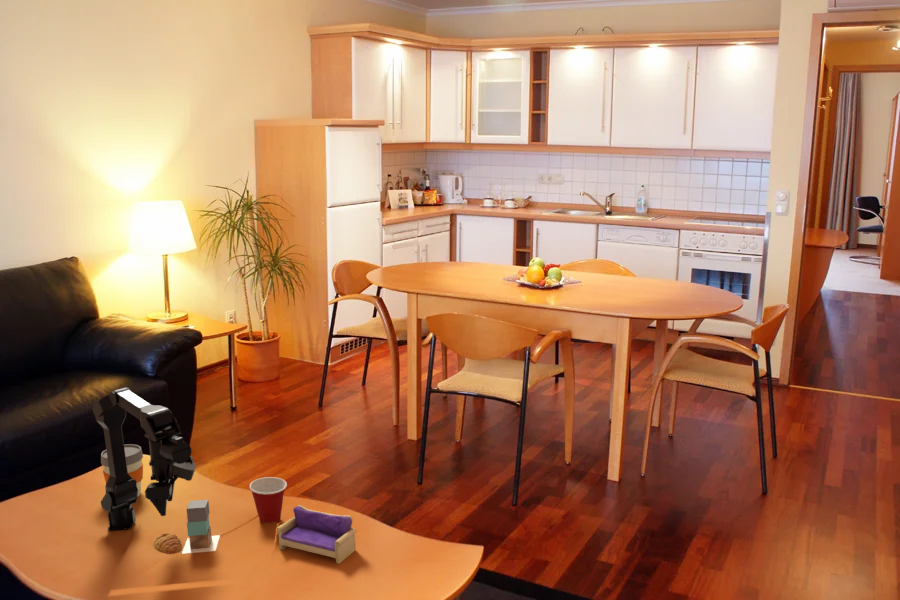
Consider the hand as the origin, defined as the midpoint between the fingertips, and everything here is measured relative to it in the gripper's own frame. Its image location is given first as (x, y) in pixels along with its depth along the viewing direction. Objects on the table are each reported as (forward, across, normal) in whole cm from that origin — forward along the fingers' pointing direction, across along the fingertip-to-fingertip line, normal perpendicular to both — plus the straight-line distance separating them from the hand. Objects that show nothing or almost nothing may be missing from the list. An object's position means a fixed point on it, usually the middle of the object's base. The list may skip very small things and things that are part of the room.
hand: (166, 508), depth 229 cm
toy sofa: (+13, -7, -40) cm, 43 cm away
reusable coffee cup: (+13, +41, +22) cm, 48 cm away
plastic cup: (+13, +13, -26) cm, 32 cm away
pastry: (+13, +1, +1) cm, 13 cm away
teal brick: (+8, 0, -8) cm, 11 cm away
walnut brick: (+12, 0, -8) cm, 14 cm away
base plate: (+13, 0, -8) cm, 15 cm away
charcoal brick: (+4, 0, -8) cm, 9 cm away
